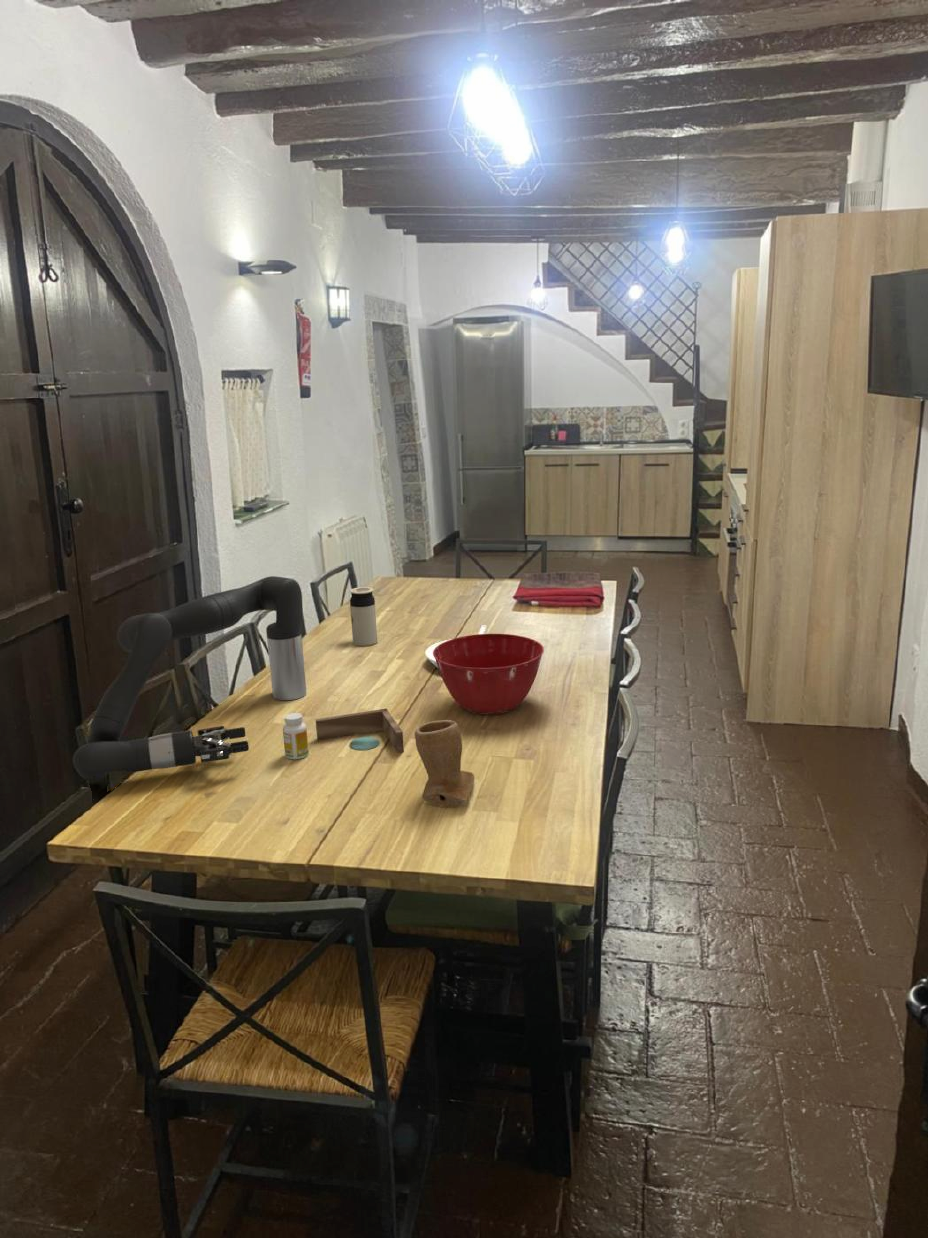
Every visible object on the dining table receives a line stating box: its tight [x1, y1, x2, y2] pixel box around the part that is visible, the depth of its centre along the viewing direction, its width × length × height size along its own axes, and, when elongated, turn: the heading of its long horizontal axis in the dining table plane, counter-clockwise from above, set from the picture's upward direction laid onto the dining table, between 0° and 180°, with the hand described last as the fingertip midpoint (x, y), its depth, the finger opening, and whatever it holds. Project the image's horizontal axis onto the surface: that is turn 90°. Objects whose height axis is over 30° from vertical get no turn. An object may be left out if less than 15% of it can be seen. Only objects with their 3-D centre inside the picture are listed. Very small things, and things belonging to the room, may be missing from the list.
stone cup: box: [414, 719, 475, 808], centre depth 184 cm, size 15×12×15 cm
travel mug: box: [349, 586, 378, 647], centre depth 290 cm, size 8×8×18 cm
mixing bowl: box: [433, 633, 545, 715], centre depth 232 cm, size 28×28×15 cm
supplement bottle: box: [282, 712, 310, 760], centre depth 206 cm, size 5×5×10 cm
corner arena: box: [315, 708, 405, 754], centre depth 211 cm, size 16×18×5 cm
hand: (246, 738), depth 203 cm, fingers open, 8 cm apart
